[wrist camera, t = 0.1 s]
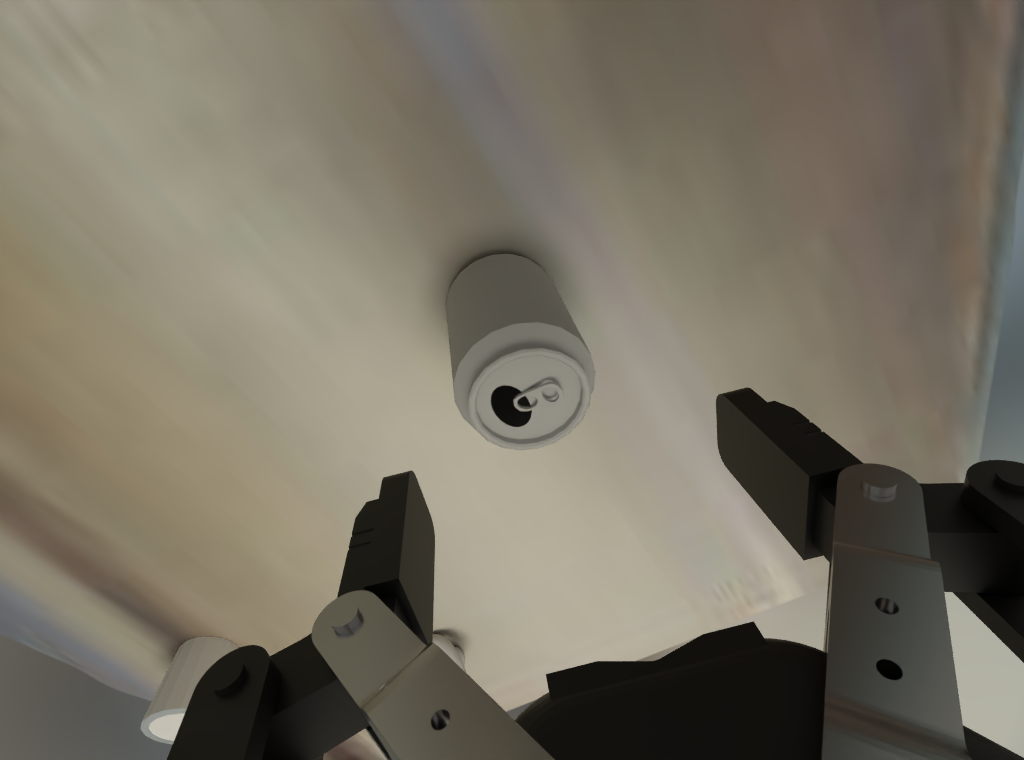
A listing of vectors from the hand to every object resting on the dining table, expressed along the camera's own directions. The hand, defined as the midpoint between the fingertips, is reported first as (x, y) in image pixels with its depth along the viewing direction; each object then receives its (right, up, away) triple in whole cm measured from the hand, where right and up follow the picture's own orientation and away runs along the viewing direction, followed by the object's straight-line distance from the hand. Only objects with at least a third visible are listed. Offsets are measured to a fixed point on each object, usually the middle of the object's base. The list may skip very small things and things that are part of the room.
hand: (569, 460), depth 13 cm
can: (-2, +8, +22) cm, 23 cm away
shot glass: (-32, -25, +39) cm, 56 cm away
